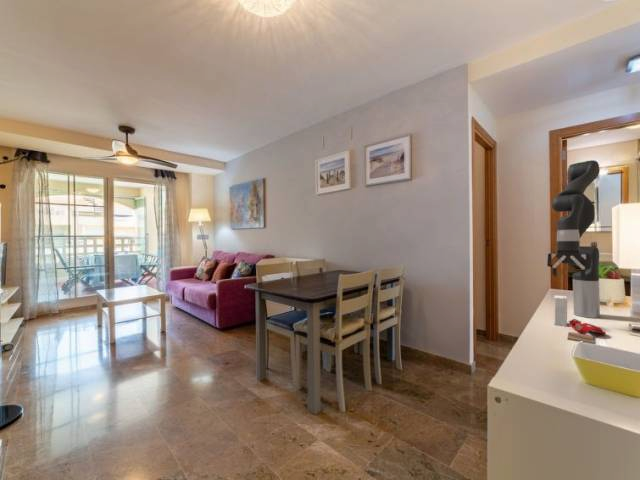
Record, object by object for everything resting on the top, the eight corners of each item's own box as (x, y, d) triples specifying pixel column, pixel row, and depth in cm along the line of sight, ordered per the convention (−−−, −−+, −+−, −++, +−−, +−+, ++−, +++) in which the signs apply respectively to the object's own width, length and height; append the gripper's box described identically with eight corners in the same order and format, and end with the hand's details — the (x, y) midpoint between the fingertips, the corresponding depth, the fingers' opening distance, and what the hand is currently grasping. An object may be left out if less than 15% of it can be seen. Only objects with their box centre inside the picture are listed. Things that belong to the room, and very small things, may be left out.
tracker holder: (609, 331, 110) (603, 328, 105) (605, 341, 110) (598, 339, 105) (571, 317, 120) (563, 313, 115) (567, 326, 120) (559, 324, 115)
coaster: (568, 333, 112) (568, 331, 112) (593, 337, 107) (593, 335, 107) (567, 339, 105) (567, 337, 105) (593, 344, 101) (593, 342, 101)
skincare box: (554, 321, 127) (553, 294, 127) (567, 323, 124) (566, 296, 124) (554, 325, 123) (553, 297, 122) (568, 326, 120) (567, 298, 120)
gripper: (590, 240, 122) (590, 278, 121) (547, 240, 131) (548, 275, 131) (590, 240, 116) (591, 279, 116) (546, 240, 126) (546, 276, 125)
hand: (568, 277), depth 123 cm, fingers open, 8 cm apart
